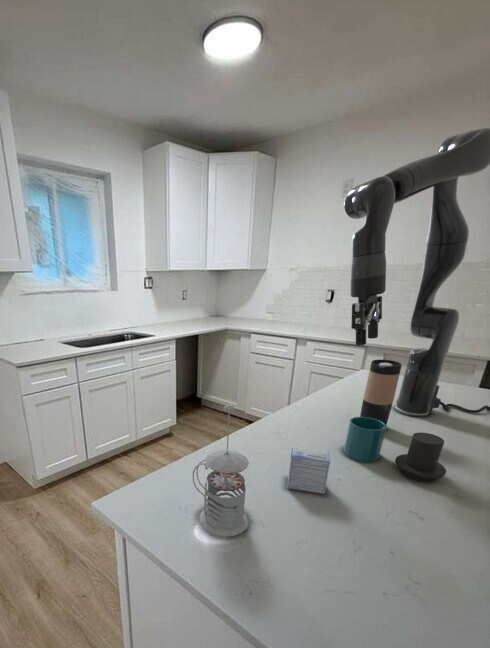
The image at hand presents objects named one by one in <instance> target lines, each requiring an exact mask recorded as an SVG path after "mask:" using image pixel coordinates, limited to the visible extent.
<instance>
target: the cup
mask: <svg viewBox="0 0 490 648" xmlns="http://www.w3.org/2000/svg"><path fill="white" fill-rule="evenodd" d="M387 427H388V426H387V425H386V424H385V423H383V422H382V421H379V420H377V419H373V418H369V417H360V416H354V417H352V418H350V419H349V422H348V427H347V432H346V436H345V442H344V446H343V453H344V455H345V456H346V457H348V458H350V460H351V459H352V460H354V461H357V462H362V463H373V462H377V461H378V460H379V458H380V454H381V451H382V446H383V443H384V439H385V435H386V431H387Z"/></svg>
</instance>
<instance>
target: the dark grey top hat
mask: <svg viewBox="0 0 490 648" xmlns="http://www.w3.org/2000/svg"><path fill="white" fill-rule="evenodd" d="M444 444H445V440H444V439H443V438H442V437H440V436H439V435H436V434H434V433H429V432H420V431H419V432H415V433H413V434H412V436H411V440H410V443H409V447H408V450H407V453H404V454H399V455H397V456H396V457H395V460H394V463H395V465H396V467H398V468H399V469H400V470H401V471H402V472H403V474H404V475H405V476H406V477H408V478H410V479H413V480H417V481H420V482H421V481H422V482H428V481H431V480H432V479H441V478H444V476H446V474H447V469H446V467H445V466H444V465H443V464H442V463H440V462H439V461H440V456H441V453H442V450H443V447H444Z"/></svg>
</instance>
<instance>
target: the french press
mask: <svg viewBox="0 0 490 648" xmlns="http://www.w3.org/2000/svg"><path fill="white" fill-rule="evenodd" d="M223 412H225V413H227V414H228V416H227V434H226V435H227V436H226V449H217V450H214V451H212V452H210V453H208V454H207V455H206V456H205V458H204V459H203V460H201V461H200V462H199V463H198V464H197V465H195V467H194V468H193V470H192V482H193V485H194V487H195V489H196V490H197V491H198V493H200V494H201V495H202V496H203V497H204V501H203V502H204V503H203V504H204V506H203V507H204V508H203V510H202V511H201V512H200V515H199V524H200V525H201V527H202V528H203V529H204V530H205V531H206V532H209V533H210V534H211V535H216V536H219V537H223V538H224V537H225V538H226V537H235V536H237V535H241V534H243V532H244V531H246V529H248V525H249V519H248V516H247V515H246V514H245V503H246V484H245V482H246V480H245V477H244V476H243V474H241V473H242V472H243V471H245V470H246V469H247V468H248V467H249V463H250V461H249V459H248V457H246V456H245V455H244V454H242V453H241V452H238V451H237V450H233V449H229V435H230V433H229V432H230V415H231V414H232V413H235V406H234V405H233V404H230V403H228V404H225V405H224V406H223ZM204 462H205V463H204ZM202 465H204V467H205V470H208V469H209V468H210V470H212V471H211V472H210V473H208V474H207V477H206V482H205V484H204V485H203V484H202V483H201V481H200V479H199V467H200V466H202ZM195 471H196V479H197V481H198V484H199V485H200V486H201V488H202V489H204V493H203V492H202V491H201V490H200V489H199V488H198V487H197V485H196V482H195ZM221 491H222V492H221ZM219 492H220V493H219ZM231 492H232V493H231ZM222 496H224V497H222ZM227 496H229V497H227Z"/></svg>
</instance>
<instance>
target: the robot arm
mask: <svg viewBox="0 0 490 648" xmlns="http://www.w3.org/2000/svg"><path fill="white" fill-rule="evenodd" d="M489 166H490V127H480V128H476V129H473V130H469V131H465V132H462V133H457V134H454V135H450V136H448V137H446V138H445V140H443V141H442V143H441V144H440V146H439V148H438V150H437V154H433V155H429V156H426V157H423V158H420V159H417V160H414V161H411V162H409V163H406V164H404V165H402V166H399V167H397V168H395V169H392V170H391V171H390V172H388V173H386V174H384V175H382V176H378V177H376V178H373V179H371V180H368V181H365V182H363V183H361V184H359V185H356V186H354V187H353V188H351V189H350V191H349V192H348V193H347V194H346V196H345V198H344V201H343V209H344V210H343V211H344V213H345V215H346V216H347V217H349V218H351V219H353V220H358V219H364V218H365V220H364V224H363V226H362V227H361V228H359V229H357V230H356V231H355V232H354V233H353V234H352V236H351V237H352V238H351V262H350V297H351V298H357V302H355V303H352V304H351V325H350V327H351V330H354V331H355V345H356V346H365V345H367V338H368V339H369V340H371V339H377V338H378V337H379V323H380V322H381V320H382V319H383V296H382V294H384V293H385V292H386V285H387V284H386V283H387V282H386V281H387V257H386V256H387V255H386V242H387V241H386V240H387V239H386V238H387V236H386V233H387V229H388V227H389V223H390V220H391V216H392V213H393V210H394V205H395V204H398V203H401V202H402V201H405V200H407V199H410V198H412V197H414V196H415V195H417V194H419V193H422V192H424V191H426V190H428V189H431V188H432V198H431V199H432V200H431V209H430V216H429V223H428V224H429V225H428V229H427V230H428V231H427V234H426V235H427V236H426V240H425V246H424V252H423V260H422V261H423V262H422V268H421V275H420V279H419V280H420V281H419V286H418V292H417V295H416V299H415V303H414V306H413V307H414V308H413V310H412V315H411V320H410V326H409V327H410V328H409V329H410V333H411V335H412V336H414V337H417V338H420V339H429V340H432V341H431V344H430V345H428V346H425V347H418V348H413V349H411V350H410V351H409V355H408V358H407V362H406V365H405V370H404V373H403V378H402V381H401V386H400V389H399V394H398V398H397V399H396V405H395V410H396V411H397V412H399V413H400V414H403V415H407V416H410V417H411V416H412V417H427V416H429V414H430V415H431V414H432V412H433V409H439V408H440V406H441V407H442V409H443V410H444V411H448V410H449V407H452V408H455V409H457V410H461V411H463V412H466V413H469V414H470V413H471V414H477V413H482V412H483V411H484V410H487V411H490V406H489V405H483V406H482V407H481V408H478V409H468V408H465V407H463V406H460V405H458V404H454V403H446V404H445V402H443V401H442V398H438V397H437V396H438V393H439V389H440V385H439V380H440V376H441V373H442V369H443V367H444V364H445V363H444V362H445V360H446V357H447V355H448V353H449V350H450V349H451V345H452V341H453V339H454V337H455V334H456V331H457V328H458V325H459V321H460V313H459V311H458V310H457V309H456V308H450V307H441V306H440V307H439V306H434V302H435V298H436V297H437V293H438V291H439V290H440V288H441V287H442V286H443V284H445V282H446V281H447V279H449V278H450V276H451V275H453V273H454V272H456V270H457V269H458V268H459V266H460V265H461V264H462V262H463V260H464V259H465V255H466V251H467V247H468V241H469V237H470V229H469V225H468V222H467V220H466V217H465V216H464V214H463V212H462V209H461V208H460V204H459V202H458V194H457V193H458V182H459V178H461V177H467V176H472V175H476V174H478V173H482V172H483V171H484V170H485V169H487V168H488V167H489Z"/></svg>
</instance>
